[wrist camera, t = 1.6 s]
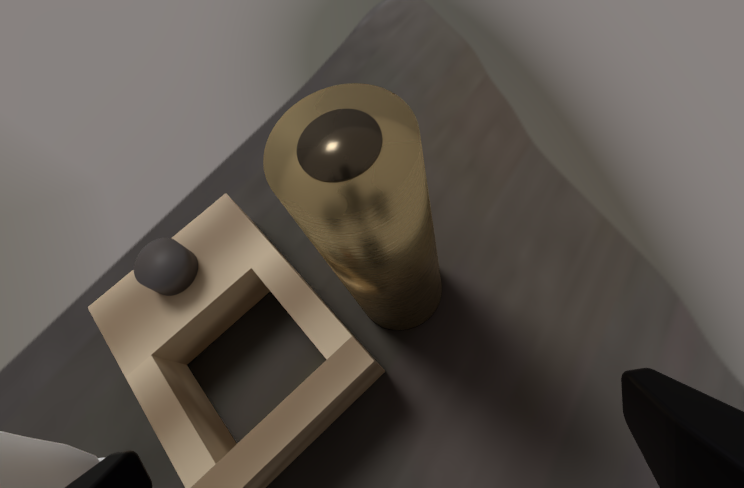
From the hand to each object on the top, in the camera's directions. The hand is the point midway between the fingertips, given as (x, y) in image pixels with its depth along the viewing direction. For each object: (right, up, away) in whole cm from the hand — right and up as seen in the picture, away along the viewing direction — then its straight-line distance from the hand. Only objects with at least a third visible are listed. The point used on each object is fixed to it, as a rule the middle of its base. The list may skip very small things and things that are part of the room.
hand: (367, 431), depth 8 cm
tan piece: (+2, +1, +15) cm, 15 cm away
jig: (-7, -2, +15) cm, 17 cm away
